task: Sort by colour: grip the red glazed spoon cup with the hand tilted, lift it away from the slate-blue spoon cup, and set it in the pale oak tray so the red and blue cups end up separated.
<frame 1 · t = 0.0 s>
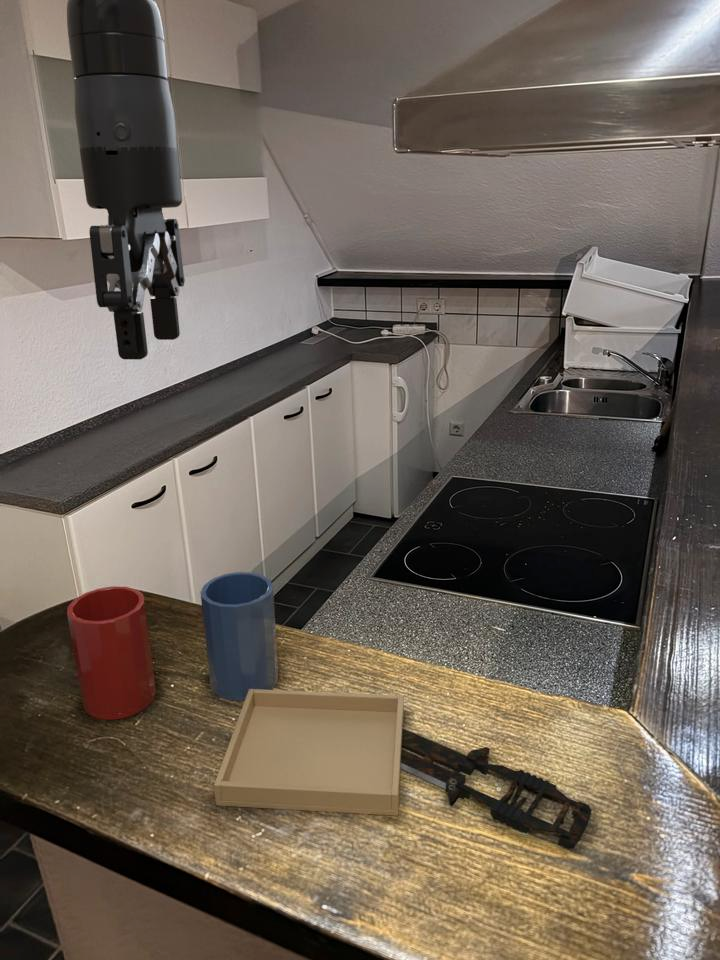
hand: (151, 348, 66), 31 cm above the countertop, tool pointing down, fingers open, 8 cm apart
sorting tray: (317, 756, 64), on the countertop
blue spoon cup: (244, 680, 74), on the countertop
red spoon cup: (120, 697, 71), on the countertop
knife: (431, 773, 62), on the countertop
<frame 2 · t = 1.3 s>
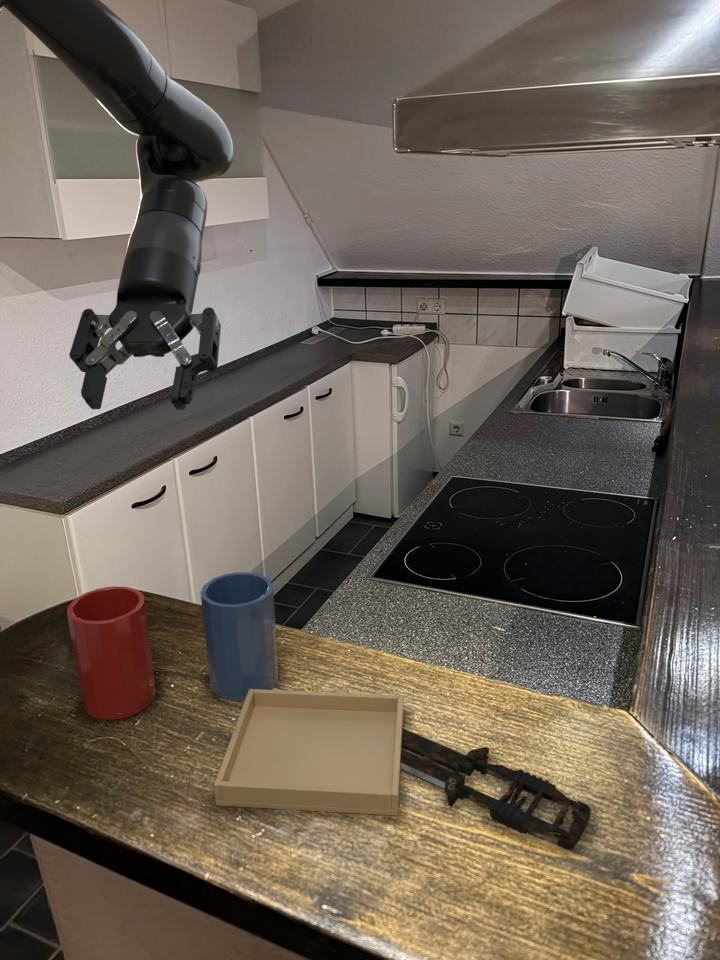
hand: (134, 405, 73), 25 cm above the countertop, tool tilted 45°, fingers open, 8 cm apart
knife: (431, 773, 62), on the countertop, touching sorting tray
everything else where it was.
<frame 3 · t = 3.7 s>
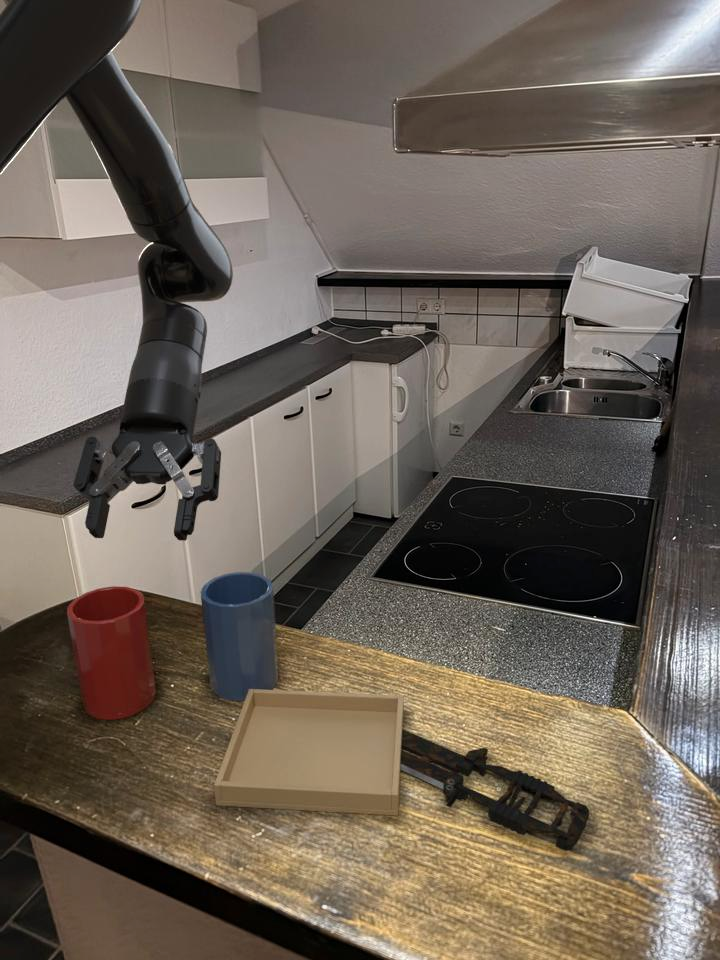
hand: (137, 536, 75), 12 cm above the countertop, tool tilted 45°, fingers open, 8 cm apart
nothing on the countertop moved.
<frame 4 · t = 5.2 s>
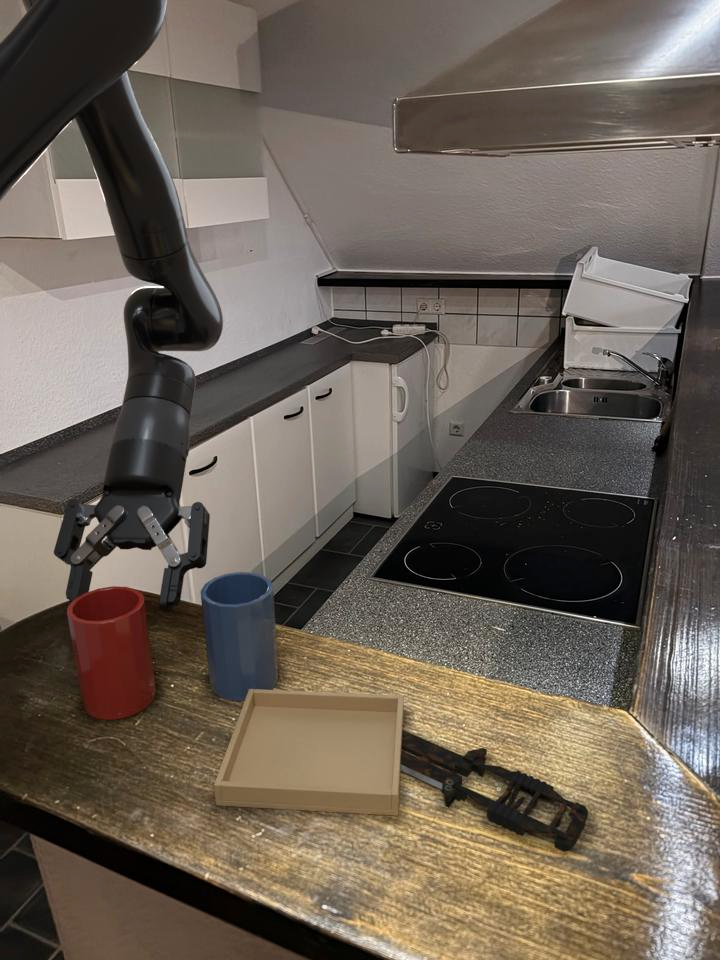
hand: (121, 608, 71), 8 cm above the countertop, tool tilted 45°, fingers open, 8 cm apart
nothing on the countertop moved.
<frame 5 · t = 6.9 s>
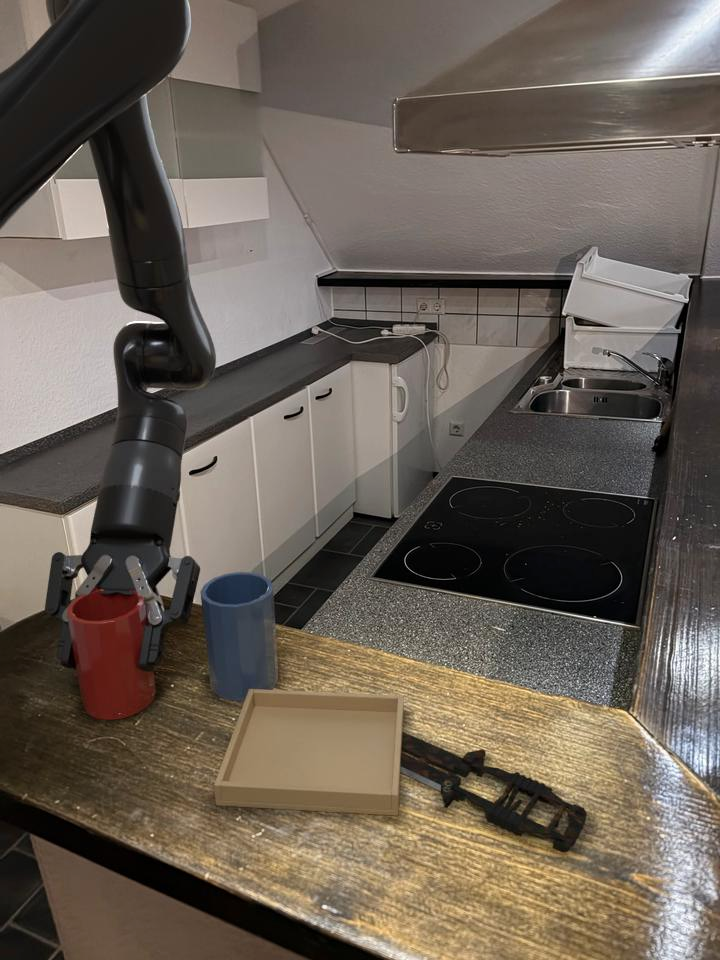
hand: (107, 668, 68), 4 cm above the countertop, tool tilted 45°, fingers closed on red spoon cup, 6 cm apart
red spoon cup: (120, 697, 71), on the countertop, touching gripper
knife: (427, 775, 62), on the countertop
everything else where it was.
when the fingers open (5 cm above the countertop, at t = 16.7 s): red spoon cup stays where it is, resting on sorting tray.
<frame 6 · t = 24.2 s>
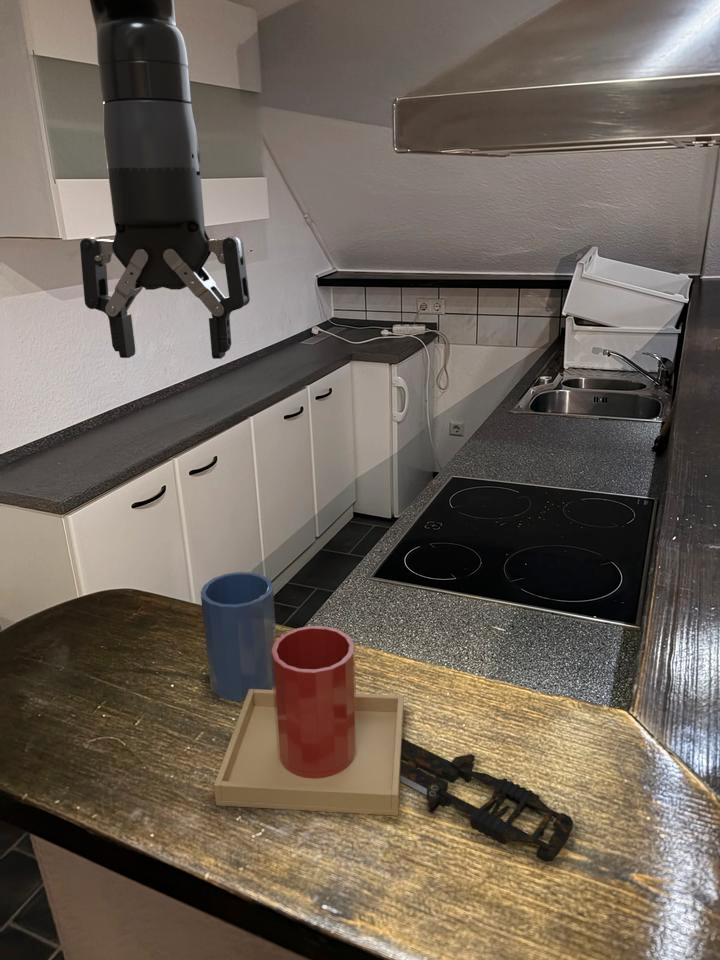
hand: (173, 356, 69), 30 cm above the countertop, tool pointing down, fingers open, 8 cm apart
red spoon cup: (317, 750, 63), resting on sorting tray
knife: (415, 778, 62), on the countertop, touching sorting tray
everything else where it was.
at the end: red spoon cup inside the target area in the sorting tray (0.1 cm from its centre), point 0.5 cm above the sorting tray's base; red spoon cup tilted 0°; blue spoon cup moved 0.0 cm from its start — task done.
